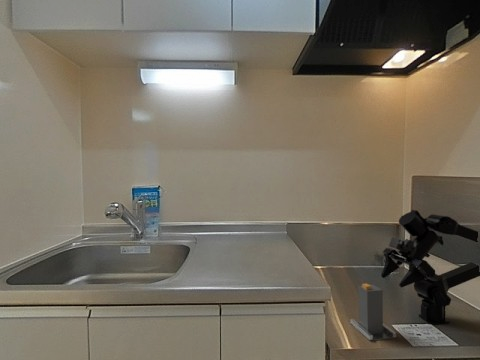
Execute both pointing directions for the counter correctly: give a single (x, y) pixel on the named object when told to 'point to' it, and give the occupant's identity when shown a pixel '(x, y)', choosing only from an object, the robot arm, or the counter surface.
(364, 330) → the rail seat
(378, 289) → the block
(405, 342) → the counter surface
